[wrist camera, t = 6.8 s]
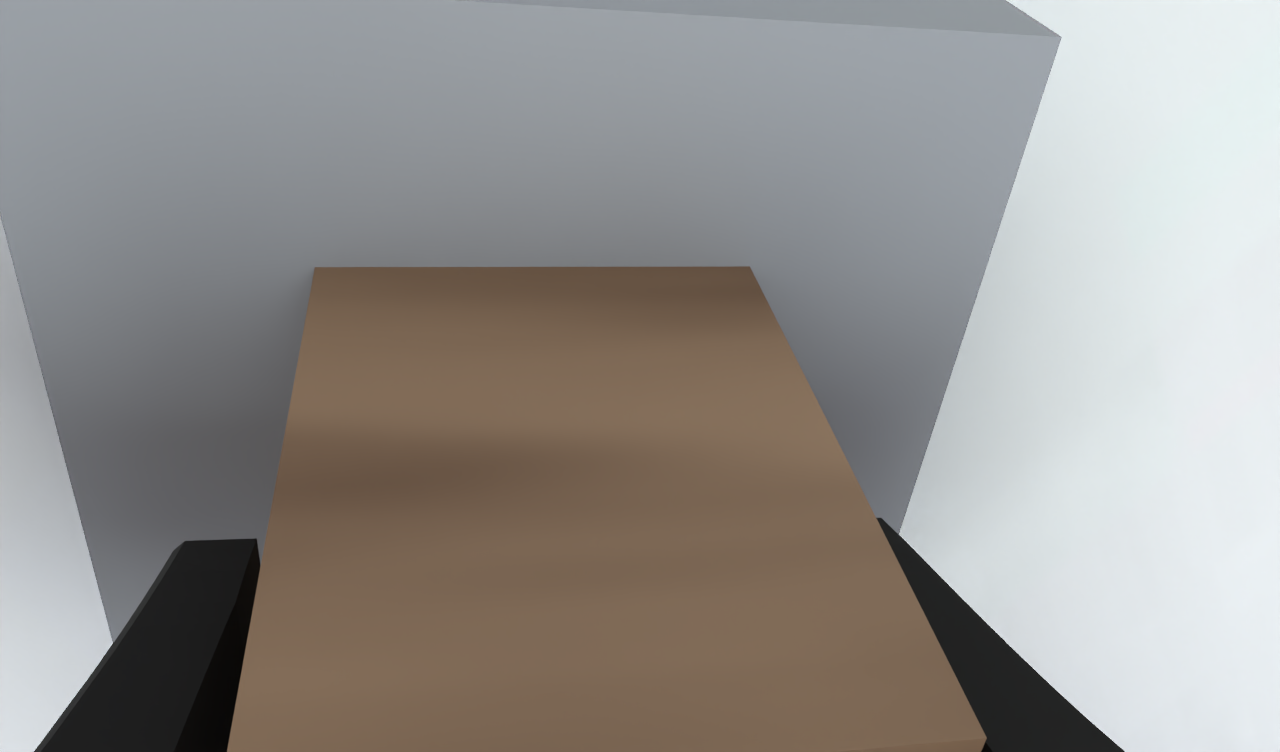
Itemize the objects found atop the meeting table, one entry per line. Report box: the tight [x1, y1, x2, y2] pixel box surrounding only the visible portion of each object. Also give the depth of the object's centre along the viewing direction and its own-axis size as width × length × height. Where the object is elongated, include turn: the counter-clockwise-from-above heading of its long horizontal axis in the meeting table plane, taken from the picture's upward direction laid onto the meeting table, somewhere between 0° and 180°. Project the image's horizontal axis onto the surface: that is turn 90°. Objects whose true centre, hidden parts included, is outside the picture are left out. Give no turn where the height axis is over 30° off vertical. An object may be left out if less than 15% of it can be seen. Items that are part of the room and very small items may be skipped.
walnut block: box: [227, 266, 987, 752], centre depth 10 cm, size 4×4×6 cm
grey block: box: [0, 0, 1061, 643], centre depth 13 cm, size 10×10×3 cm
